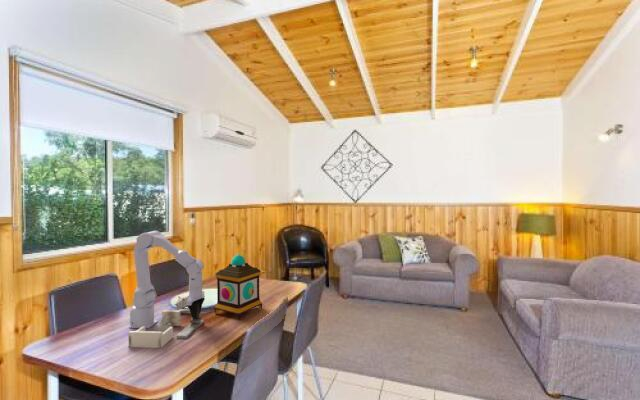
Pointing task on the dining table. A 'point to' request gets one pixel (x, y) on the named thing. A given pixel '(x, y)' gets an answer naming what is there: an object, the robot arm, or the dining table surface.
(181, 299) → the game die
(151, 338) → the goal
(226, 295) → the decorative lantern
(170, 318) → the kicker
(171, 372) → the dining table surface
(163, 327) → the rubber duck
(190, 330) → the rail
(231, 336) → the dining table surface
